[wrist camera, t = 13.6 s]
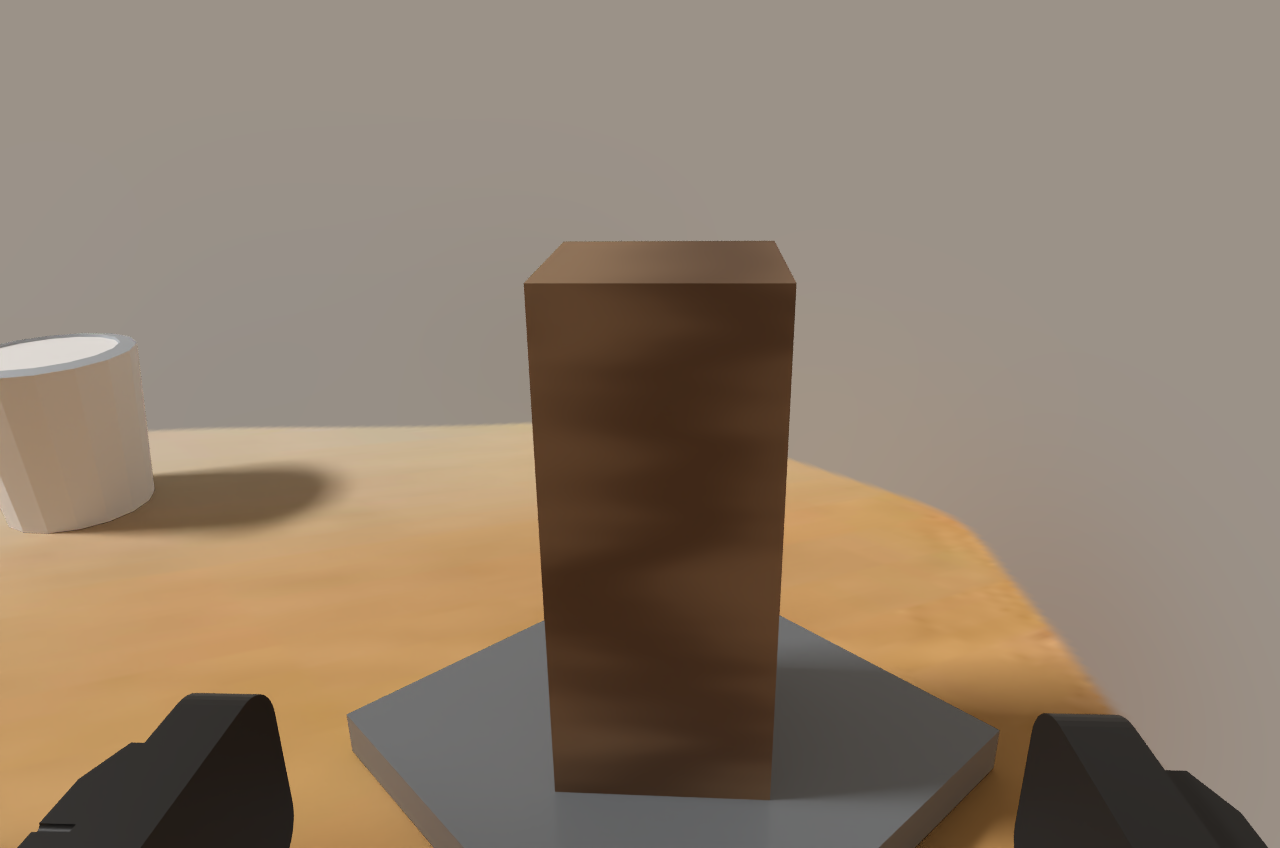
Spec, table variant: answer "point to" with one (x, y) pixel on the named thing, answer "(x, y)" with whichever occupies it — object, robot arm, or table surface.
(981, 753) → the slate tile
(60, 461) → the white cup
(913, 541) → the table surface
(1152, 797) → the robot arm
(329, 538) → the table surface
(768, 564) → the walnut block
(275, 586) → the table surface
